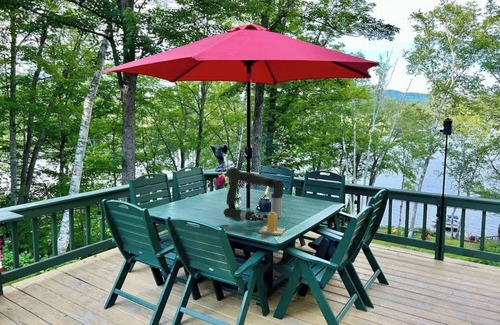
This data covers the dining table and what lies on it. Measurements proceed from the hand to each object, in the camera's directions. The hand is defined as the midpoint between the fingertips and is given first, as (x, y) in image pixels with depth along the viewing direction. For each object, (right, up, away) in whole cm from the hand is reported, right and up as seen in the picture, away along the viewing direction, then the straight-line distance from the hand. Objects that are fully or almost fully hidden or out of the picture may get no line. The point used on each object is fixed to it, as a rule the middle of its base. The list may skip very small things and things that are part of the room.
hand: (266, 218), depth 250 cm
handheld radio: (-25, -6, +40) cm, 47 cm away
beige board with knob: (+5, -10, -2) cm, 11 cm away
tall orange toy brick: (+5, -8, -2) cm, 10 cm away
